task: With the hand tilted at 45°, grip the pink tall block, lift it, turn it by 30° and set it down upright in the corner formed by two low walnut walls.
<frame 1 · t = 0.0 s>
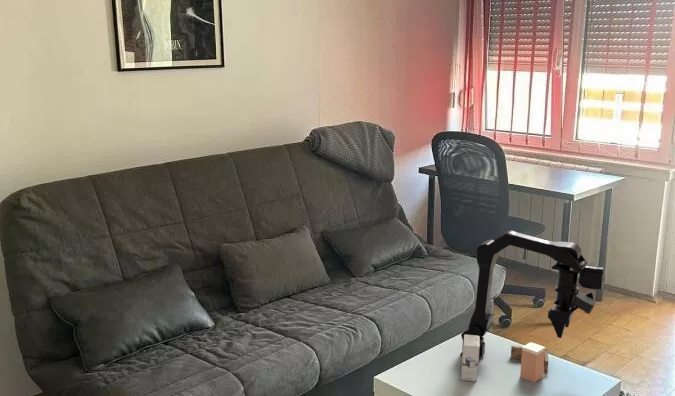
hand: (563, 332, 206), 15 cm above the table, tool pointing down, fingers open, 9 cm apart
ink box: (469, 375, 209), on the table
pink tall block: (531, 376, 208), on the table
walnut corner walls: (531, 365, 215), on the table
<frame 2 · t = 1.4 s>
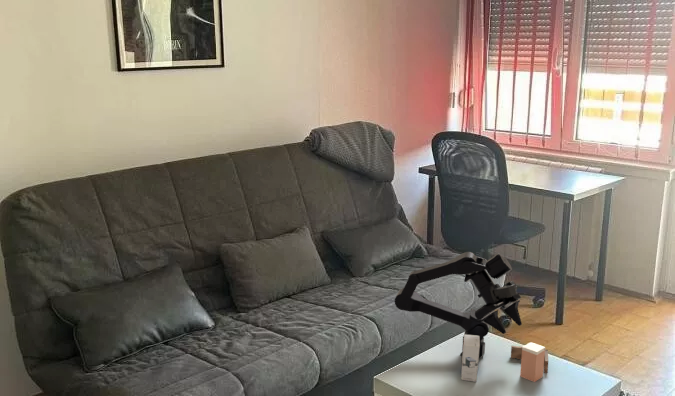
hand: (512, 329, 210), 13 cm above the table, tool tilted 45°, fingers open, 9 cm apart
nothing on the table moved.
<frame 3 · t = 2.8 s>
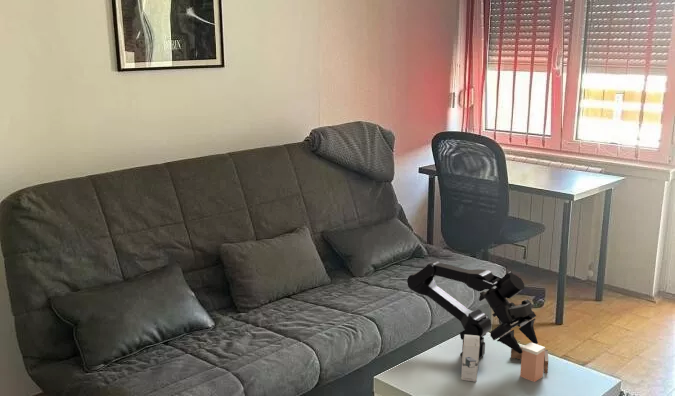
hand: (529, 348, 207), 9 cm above the table, tool tilted 45°, fingers open, 9 cm apart
nothing on the table moved.
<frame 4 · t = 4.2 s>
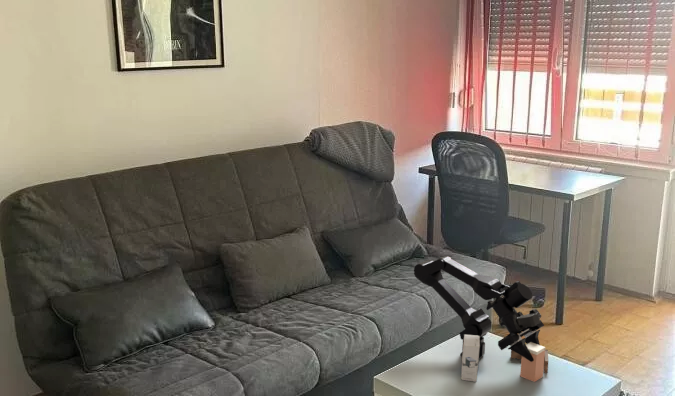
hand: (537, 358, 206), 7 cm above the table, tool tilted 45°, fingers closed on pink tall block, 5 cm apart
pink tall block: (531, 376, 208), on the table, touching gripper
everything else where it was.
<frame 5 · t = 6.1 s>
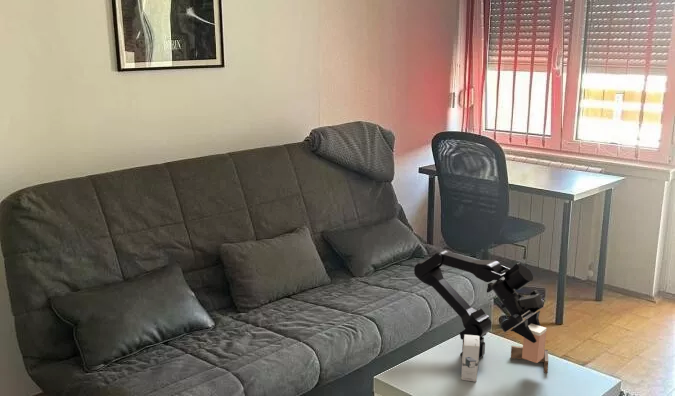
hand: (538, 339, 206), 12 cm above the table, tool tilted 45°, fingers closed on pink tall block, 5 cm apart
pink tall block: (532, 357, 208), point 6 cm above the table, touching gripper
everything else where it was.
when the fingers open (7 cm above the table, at t = 8.3 s): pink tall block stays where it is, on the table.
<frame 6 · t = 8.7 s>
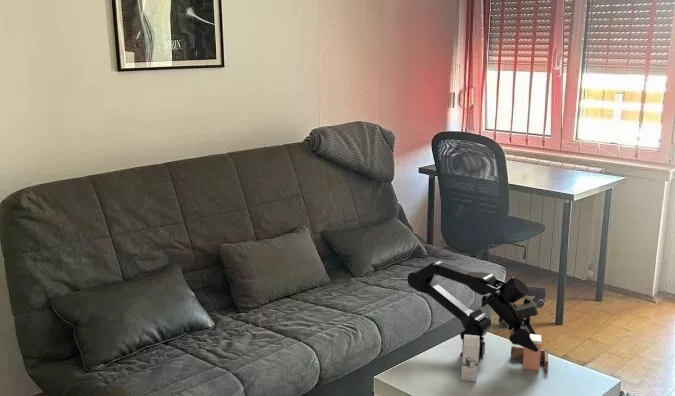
hand: (537, 344, 213), 8 cm above the table, tool tilted 45°, fingers open, 9 cm apart
pink tall block: (530, 366, 215), on the table
everything else where it was.
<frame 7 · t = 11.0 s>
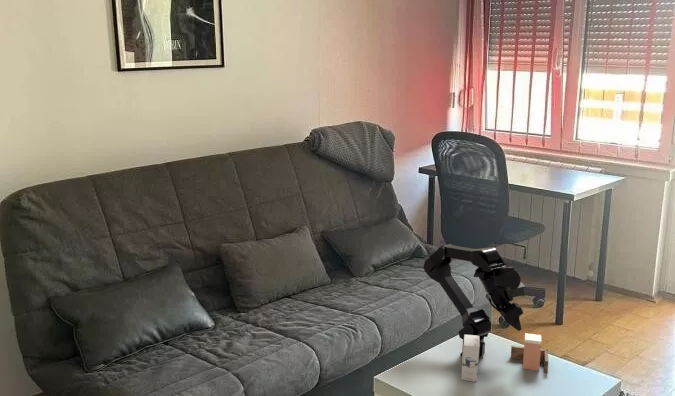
hand: (514, 324, 217), 12 cm above the table, tool tilted 30°, fingers open, 9 cm apart
nothing on the table moved.
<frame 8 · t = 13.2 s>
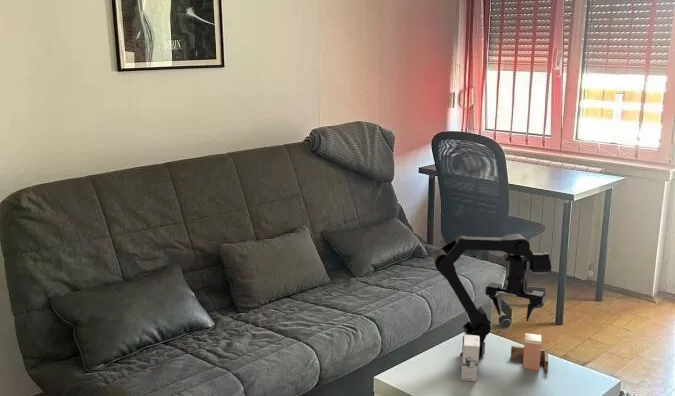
hand: (513, 317, 220), 13 cm above the table, tool pointing down, fingers open, 9 cm apart
nothing on the table moved.
at the end: pink tall block 0.2 cm from the target spot, on the table; pink tall block tilted 0°; the gripper is holding nothing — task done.
